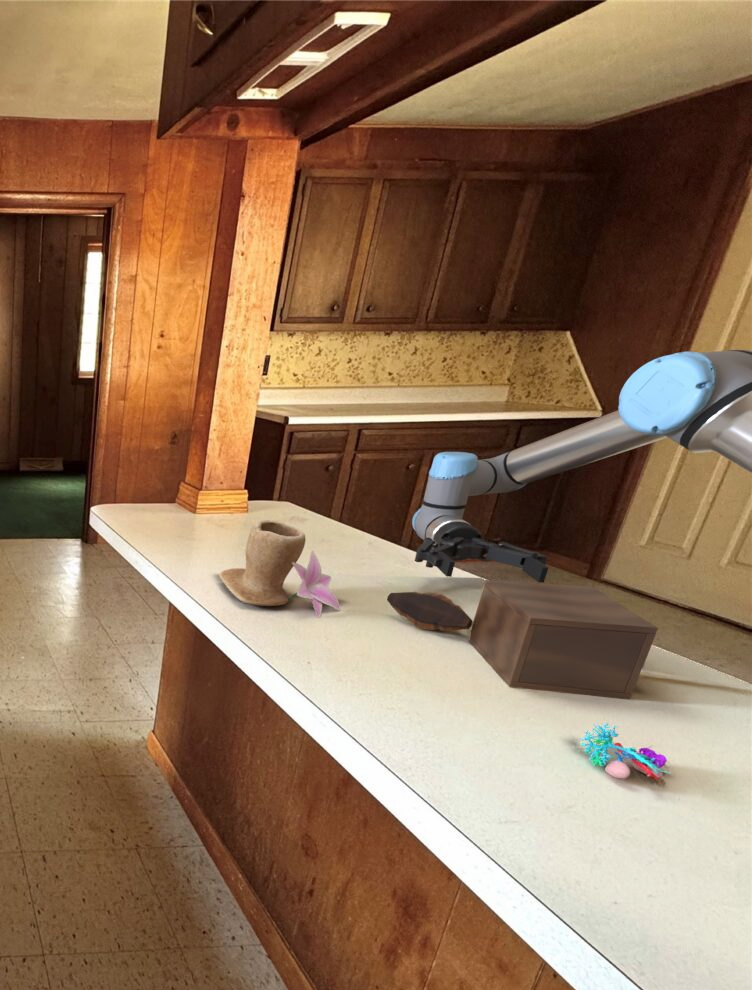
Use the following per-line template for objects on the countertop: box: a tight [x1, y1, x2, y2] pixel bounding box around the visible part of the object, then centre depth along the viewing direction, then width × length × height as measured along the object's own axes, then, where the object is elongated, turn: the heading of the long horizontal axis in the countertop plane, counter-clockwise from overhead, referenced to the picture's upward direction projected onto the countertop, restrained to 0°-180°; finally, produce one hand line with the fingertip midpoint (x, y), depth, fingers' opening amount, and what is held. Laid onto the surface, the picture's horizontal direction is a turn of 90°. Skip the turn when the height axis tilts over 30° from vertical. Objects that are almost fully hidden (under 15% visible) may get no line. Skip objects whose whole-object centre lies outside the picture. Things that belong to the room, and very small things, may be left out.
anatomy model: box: [579, 722, 670, 781], centre depth 75 cm, size 5×8×7 cm
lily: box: [288, 550, 342, 618], centre depth 123 cm, size 12×12×10 cm
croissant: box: [386, 591, 474, 632], centre depth 113 cm, size 14×7×5 cm
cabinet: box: [468, 579, 659, 700], centre depth 98 cm, size 16×14×11 cm
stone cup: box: [218, 519, 306, 607], centre depth 127 cm, size 15×12×15 cm
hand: (496, 572), depth 116 cm, fingers open, 13 cm apart
